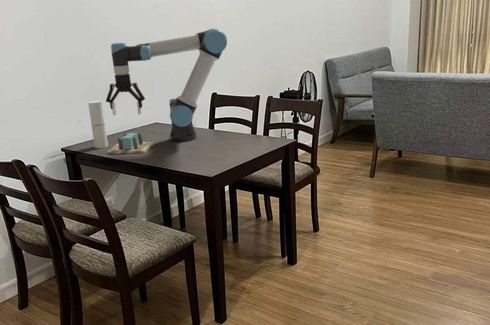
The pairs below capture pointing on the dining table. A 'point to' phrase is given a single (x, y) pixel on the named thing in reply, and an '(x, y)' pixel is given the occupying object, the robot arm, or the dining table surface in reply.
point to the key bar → (129, 140)
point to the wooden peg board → (138, 148)
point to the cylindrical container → (98, 124)
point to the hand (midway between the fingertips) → (127, 114)
